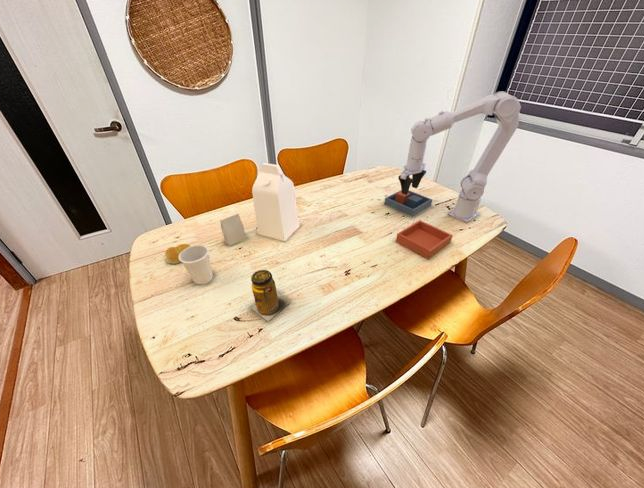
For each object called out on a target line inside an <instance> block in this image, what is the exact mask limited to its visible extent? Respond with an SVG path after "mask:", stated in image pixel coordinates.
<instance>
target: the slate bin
mask: <svg viewBox="0 0 644 488" xmlns="http://www.w3.org/2000/svg"><path fill="white" fill-rule="evenodd" d="M400 191H402V190H401V189H400V190H398V191H397V192H394V193H392V194H390V195H388V196H385V197H384V202H383V203H384V205H385V206H387V207H390V208H392V209H394V210H396V211H398V212H400V213H403V214H404V215H407V216H409V217H410V218H411V217H412V218H413V217H415V216H416V215H418V214H420V213H421V212H423V211H425V210H427V209H429V208H430V207H432V204H433V199H432V198H430V197H427V196H425V195H421V194H420V193H417V192H415V191H412V190H409V191H408V193H410V197H411V196H413V195H415V196H418V197H421V198H423V199H422V204H421V205H419V206H418V207H416V208H414V209H412V208H409V207H407V206H406V204H405V205H403V204H400V203H398V202H396V201H395V197H396V193H398V192H400Z"/></svg>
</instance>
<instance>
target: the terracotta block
mask: <svg viewBox="0 0 644 488" xmlns="http://www.w3.org/2000/svg"><path fill="white" fill-rule="evenodd" d="M399 191H400V190H399ZM397 192H398V191H397ZM395 193H396V192H395ZM409 197H410V193H407V195H405V194H402V191H400V192H398V193H396V197H395V201H396V202H398V203H400V204H403V205H405V204H407V199H408V198H409Z"/></svg>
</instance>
